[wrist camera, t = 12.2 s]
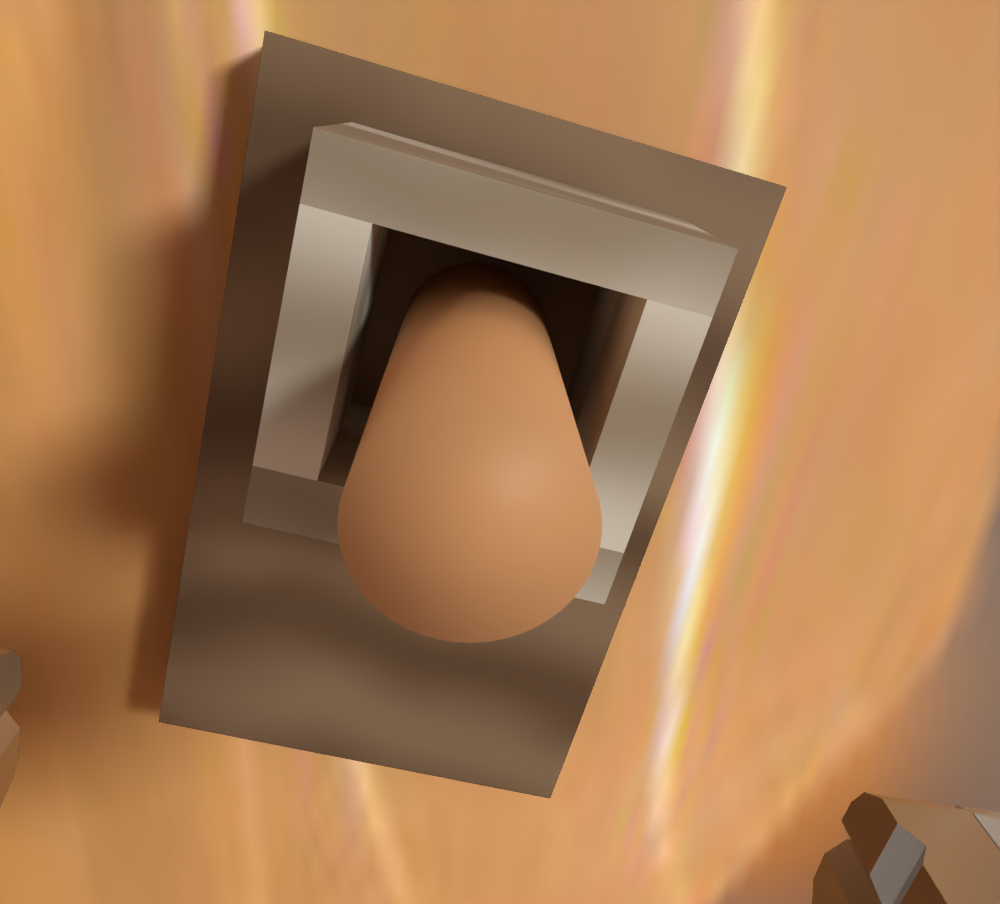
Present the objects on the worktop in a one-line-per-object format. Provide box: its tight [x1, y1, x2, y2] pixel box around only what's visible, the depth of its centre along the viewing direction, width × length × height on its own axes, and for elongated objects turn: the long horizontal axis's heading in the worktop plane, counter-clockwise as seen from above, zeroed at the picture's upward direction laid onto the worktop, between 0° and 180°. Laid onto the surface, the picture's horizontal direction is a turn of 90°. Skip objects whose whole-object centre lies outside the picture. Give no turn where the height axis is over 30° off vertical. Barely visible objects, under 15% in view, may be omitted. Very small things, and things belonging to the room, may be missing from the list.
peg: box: [337, 262, 602, 643], centre depth 18 cm, size 4×4×12 cm
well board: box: [159, 31, 787, 798], centre depth 24 cm, size 22×14×8 cm, turn 164°
